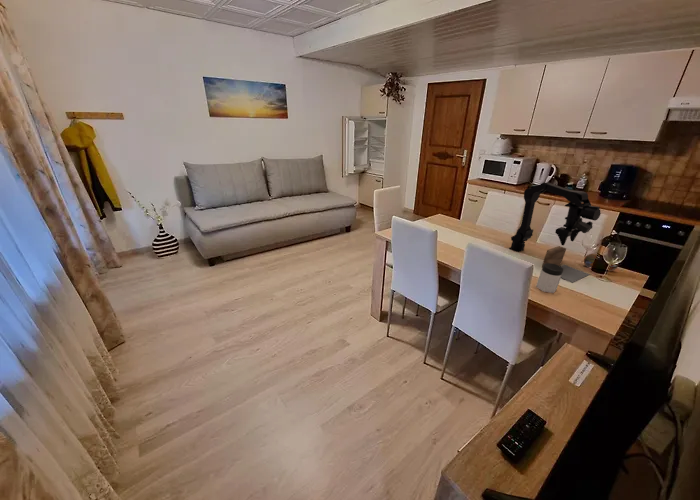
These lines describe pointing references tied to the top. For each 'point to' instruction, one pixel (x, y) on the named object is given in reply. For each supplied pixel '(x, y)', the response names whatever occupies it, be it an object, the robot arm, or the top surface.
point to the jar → (549, 277)
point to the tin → (590, 259)
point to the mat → (572, 274)
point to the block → (554, 256)
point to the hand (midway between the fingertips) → (567, 243)
